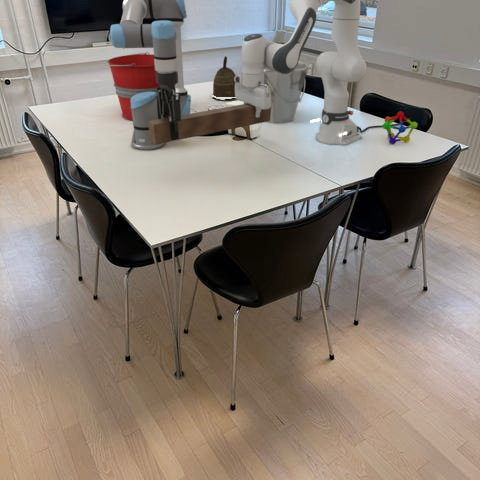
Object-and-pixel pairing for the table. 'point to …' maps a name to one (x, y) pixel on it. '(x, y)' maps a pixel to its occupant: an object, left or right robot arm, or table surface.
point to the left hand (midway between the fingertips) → (171, 137)
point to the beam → (207, 122)
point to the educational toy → (398, 128)
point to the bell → (224, 82)
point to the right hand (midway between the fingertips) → (252, 115)
